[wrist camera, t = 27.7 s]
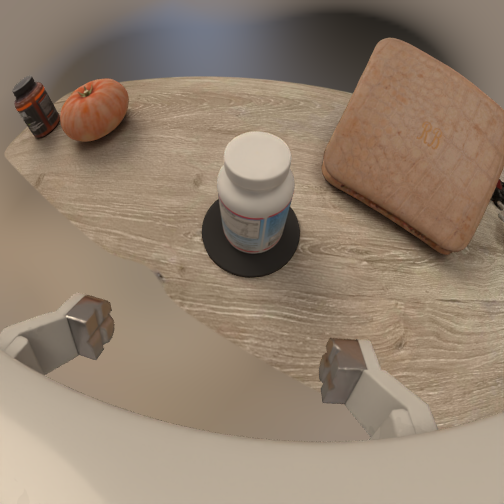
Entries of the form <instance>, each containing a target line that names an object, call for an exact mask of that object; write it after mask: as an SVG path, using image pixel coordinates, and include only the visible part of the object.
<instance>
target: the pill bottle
mask: <svg viewBox="0 0 504 504" xmlns="http://www.w3.org/2000/svg"><path fill="white" fill-rule="evenodd" d="M290 164H291V152H290V149H289V147H288V146H287V144H286V143H285V142H284V141H283V140H281V139H280V138H279V137H277V136H275V135H273V134H270V133H266V132H247V133H244V134H241V135H239V136H237V137H235V138H234V139H232V140H231V141H230V142H229V143H228V145H227V147H226V149H225V152H224V164H223V166H222V167H221V169H220V171H219V174H218V178H217V190H218V197H219V204H220V211H221V217H222V224H223V230H224V233H225V236H226V238H227V240H228V241H229V242H230V244H231V245H232V246H234V247H235V248H236V249H238V250H240V251H242V252H245V253H252V254H255V253H262V252H265V251H267V250H269V249H271V248H272V247H274V246H275V245H276V244H277V242H278V241H279V240H280V238H281V236H282V233H283V229H284V226H285V222H286V219H287V215H288V211H289V207H290V204H291V200H292V197H293V192H294V186H295V183H294V176H293V173H292V171H291V169H290Z"/></svg>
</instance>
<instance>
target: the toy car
mask: <svg viewBox="0 0 504 504" xmlns="http://www.w3.org/2000/svg"><path fill="white" fill-rule="evenodd" d="M491 199H492V200H495V204H496V205H497V206H499V205H498V204H499V202H501V203H502V204H503V203H504V202H503V201H504V182H502V181H501V180H500V178H499V180H498V183H497V185H496V188H495V190H494V193H493V194H492V197H491ZM503 205H504V204H503Z"/></svg>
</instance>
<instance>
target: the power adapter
mask: <svg viewBox="0 0 504 504" xmlns="http://www.w3.org/2000/svg"><path fill="white" fill-rule="evenodd" d="M498 205H499V207H500V208H501V209H502V210H504V205H503V204H502V203H501V202H499V204H498ZM498 217H499V218H500V219H501V220H502V221H503V222H504V217H503V216H502V214H500V213H499V214H498Z"/></svg>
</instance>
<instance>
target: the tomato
mask: <svg viewBox="0 0 504 504" xmlns="http://www.w3.org/2000/svg"><path fill="white" fill-rule="evenodd" d="M128 103H129V98H128V93H127V91H126V89H125V88H124V87H123V86H122V85H121V84H120V83H118V82H117V81H114V80H112V79H98V80H94V81H91V82H88V83H87V84H85V85H83V86H81V87H79V88H78V89H77V90H75V91H74V92H73V93H72V94H71V96H70V97H69V98H68V99H67V100H66V102H65V103H64V105H63V107H62V110H61V115H60V122H61V126H62V129H63V131H64V132H65V133H66V135H67V136H68V137H70V138H71V139H73V140H77V141H83V142H86V141H93V140H96V139H99V138H101V137H103V136H105V135H107V134H109V133H110V132H111V131H113V130H114V129H115V128H116V127H117V126H118V125H119V124H120V122H121V121H122V120H123V118H124V116H125V115H126V112H127V109H128Z"/></svg>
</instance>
